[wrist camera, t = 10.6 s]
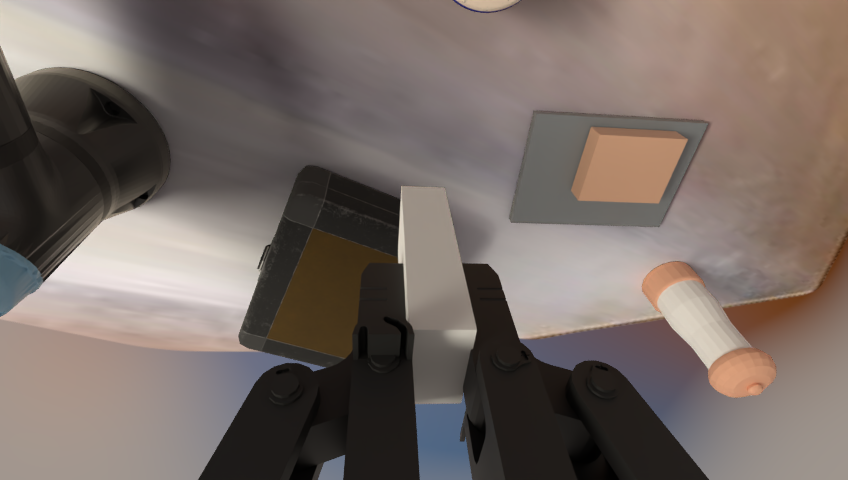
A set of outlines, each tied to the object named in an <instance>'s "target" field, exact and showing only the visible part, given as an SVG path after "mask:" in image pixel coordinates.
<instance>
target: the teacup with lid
mask: <svg viewBox="0 0 848 480" xmlns="http://www.w3.org/2000/svg"><path fill="white" fill-rule="evenodd" d="M453 1H454V2H456V3H457V4H459V5H460V6H462V7H464V8H466V9H468V10H471V11H475V12H481V13H491V12H498V11H501V10H505V9H507V8H509V7H512V6H513V5H515V4H517V3H518V2H520V1H521V0H453Z"/></svg>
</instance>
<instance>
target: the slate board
mask: <svg viewBox="0 0 848 480" xmlns="http://www.w3.org/2000/svg"><path fill="white" fill-rule="evenodd" d="M707 125H708V123H707V122H705V121H703V120H687V119H670V118H653V117H636V116H619V115H602V114H584V113H567V112H550V111H534V113H533V117H532V122H531V126H530V130H529V134H528V139H527V143H526V147H525V152H524V156H523V160H522V165H521V169H520V173H519V178H518V182H517V186H516V191H515V195H514V199H513V204H512V208H511V212H510V217H509V219H510V221H511V223H541V224H574V225H608V226H641V227H659V226H660V224H661V222H662V220H663V218H664V216H665V213H666V211H667V209H668V207H669V205H670V203H671V201H672V199H673V197H674V195H675V193H676V190H677V188H678V186H679V184H680V182H681V180H682V178H683V176H684V174H685V172H686V169H687V167H688V165H689V163H690V161H691V159H692V157H693V155H694V153H695V151H696V149H697V146H698V144H699V142H700V140H701V138H702V136H703V134H704V132H705V130H706V128H707ZM591 127H608V128H626V129H644V130H662V131H676V132H678V133H679V134H681V135H682V136H684V137H685V138H687V139H688V141H687V143H686V145H685V147H684V149H683V152H682V154H681V156H680V158H679V160H678V162H677V165H676V167H675V169H674V171H673V173H672V176H671V178H670V180H669V182H668V184H667V186H666V189H665V191H664V193H663V195H662V197H661V199H660V202H659V204H658V203H631V202H603V201H578V200H577V198H576V197H575V196H574V194H573V193H572V191H571V189H572V185H573V182H574V179H575V176H576V173H577V170H578V166H579V163H580V160H581V157H582V154H583V151H584V147H585V144H586V141H587V138H588V135H589V132H590V128H591Z"/></svg>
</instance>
